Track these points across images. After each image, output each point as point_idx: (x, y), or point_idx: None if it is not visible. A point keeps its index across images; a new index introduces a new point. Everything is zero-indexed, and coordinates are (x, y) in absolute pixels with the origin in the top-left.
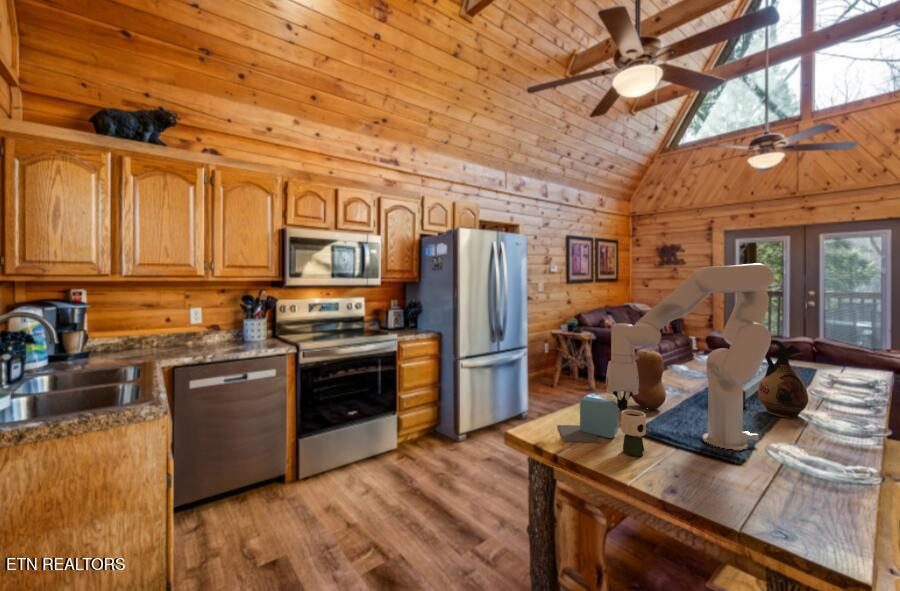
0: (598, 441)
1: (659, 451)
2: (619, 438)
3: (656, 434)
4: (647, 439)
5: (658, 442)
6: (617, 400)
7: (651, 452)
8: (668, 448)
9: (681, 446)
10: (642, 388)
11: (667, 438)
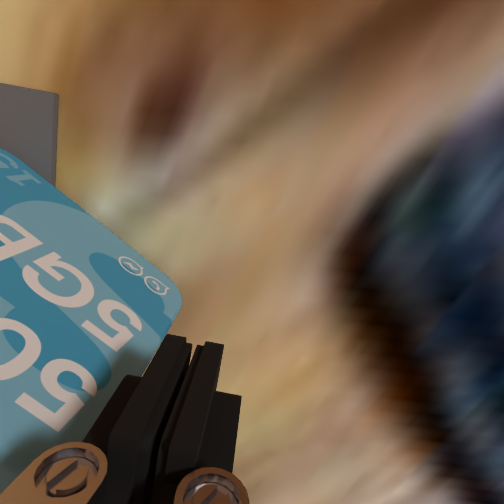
0: None
1: (319, 494)
2: (188, 321)
3: (471, 288)
4: (354, 354)
5: (392, 400)
6: (86, 441)
7: (271, 497)
8: (392, 472)
9: (484, 461)
10: None
11: (493, 356)
